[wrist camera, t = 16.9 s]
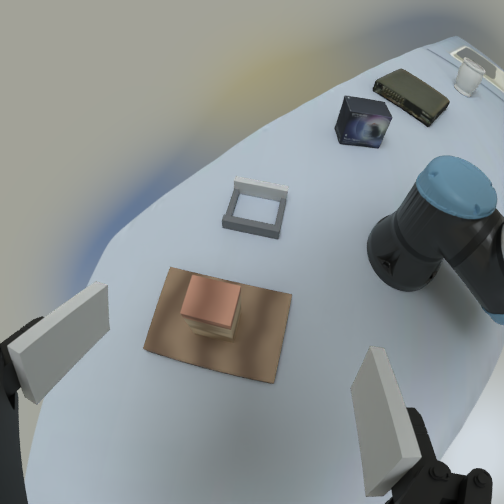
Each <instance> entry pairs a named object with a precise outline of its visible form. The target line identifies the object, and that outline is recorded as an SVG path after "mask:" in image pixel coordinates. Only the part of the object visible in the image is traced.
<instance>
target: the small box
mask: <svg viewBox="0 0 504 504" xmlns="http://www.w3.org/2000/svg"><path fill="white" fill-rule="evenodd" d="M391 120H392V116H391V113H390V112H389V110H388V108H387V106H386V104H385V102H381V101H376V100H370V99H364V98H358V97H351V96H344V100H343V104H342V107H341V110H340V113H339V116H338V120H337V123H336V126H335V130H336V133H337V137H338V141H339V143H340V144H347V145H356V146H364V147H372V148H379V146H380V144H381V142H382V140H383V137H384V135H385V133H386V131H387V128H388V126H389V124H390V122H391Z"/></svg>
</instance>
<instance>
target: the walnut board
mask: <svg viewBox="0 0 504 504" xmlns="http://www.w3.org/2000/svg"><path fill="white" fill-rule="evenodd" d="M192 275H196V276H200V277H204V278H209V279H213V280H217V281H221V282H226V283H230V284H234V285H239V286H241V315H240V319H239V323H238V327H237V331H236V335H235V339H234V343H230V342H226V341H222V340H218V339H214V338H210V337H206V336H202V335H199V334H195V333H194V332H193V331H192V330H191V328H190V327H189V325H188V324H187V322H186V321H185V320H184V318H183V317H182V315H181V314H180V312H181V309H182V305H183V302H184V299H185V296H186V293H187V290H188V287H189V284H190V280H191V277H192ZM291 297H292V294H287V293H282V292H278V291H273V290H268V289H264V288H259V287H255V286H250V285H246V284H241V283H237V282H232V281H228V280H224V279H219V278H215V277H211V276H206V275H202V274H198V273H194V272H189V271H185V270H181V269H177V268H173V267H170V269H169V272H168V274H167V277H166V280H165V283H164V286H163V289H162V292H161V295H160V297H159V300H158V303H157V306H156V309H155V312H154V315H153V319H152V322H151V325H150V328H149V331H148V334H147V337H146V341H145V344H144V347H143V349H145V350H147V351H150V352H153V353H156V354H159V355H162V356H165V357H168V358H172V359H175V360H178V361H182V362H185V363H189V364H192V365H196V366H199V367H203V368H207V369H211V370H215V371H218V372H222V373H227V374H231V375H235V376H239V377H243V378H248V379H252V380H257V381H262V382H267V383H272V384H273V383H274V380H275V375H276V371H277V366H278V361H279V357H280V352H281V347H282V343H283V338H284V333H285V328H286V323H287V318H288V313H289V308H290V302H291Z"/></svg>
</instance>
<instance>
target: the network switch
mask: <svg viewBox="0 0 504 504" xmlns="http://www.w3.org/2000/svg"><path fill="white" fill-rule="evenodd" d="M373 91H374V92H376V93H379V94H381V95H383V96H384V97H385V98H388V99H389V100H390V101H392V102H393V103H395V104H396V105H398V106H399V107H401V108H403V110H405V111H407V112H409V113H410V114H412V115H413V116H415V117H416V118H418V119H419V120H420V121H422V122H423V123H425V124H426V126H427V127H428V126H430V125H431V124H432V123H433V121H434V120H435V119H436V118H437V117H438V116H439V115H440V114H441V113H442V112H443V111H444V110H446V108H447V106H448V105H449V103H450V101H449V100H448V99H447V98H446V97H445V96H444V95H442V94H441V93H440V92H438V91H437V90H435V89H434V88H432V87H431V86H429V85H428V84H426V83H425V82H423V81H422V80H420V79H419V78H417V77H416V76H414V75H412V74H411V73H409V72H407V71H406V70H404V69H399V70H396V71H394V72H392V73H389V74H387V75H385V76H384V77H381V78H379V79H378V80H376V81H375V84H374V87H373ZM386 95H387V96H388V97H387V96H386Z"/></svg>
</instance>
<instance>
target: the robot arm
mask: <svg viewBox="0 0 504 504" xmlns="http://www.w3.org/2000/svg"><path fill="white" fill-rule="evenodd" d="M496 204H497V194H496V191H495V189H494V188H493V187H492V183H491V181H490V180H489V179H488V177H487V176H486V175H485V174H484V173H483V172H482V171H481V170H480V169H478V168H477V167H476V166H475V165H473V164H471V163H470V162H468V161H466V160H464V159H461V158H459V157H453V156H439V157H436V158H434V159H433V160H432V161H431V162H430V163H429V164H428V165H427V167H426V168H425V169H424V171H423V172H421V173H420V174H419V176H418V177H417V180H416V182H415V184H414V186H413V187H412V189H411V190H410V192H409V193H408V195H407V196H406V198H405V199H404V201H403V202H402V204H401V205H400V207H399V208H398V210H397V211H395V212H394V213H392V214H391V215H389V216H386V217H384V218H383V219H381V220H380V221H379V222H378V223H377V224H376V225H375V227H374V228H373V230H372V231H371V233H370V235H369V238H368V242H367V252H368V257H369V260H370V263H371V265H372V267H373V269H374V270H375V272H376V273H377V274H378V276H379V277H380V278H381V279H382V280H383V281H384V282H386V283H387V284H388V285H390V286H392V287H394V288H396V289H398V290H402V291H415V290H419V289H421V288H423V287H424V286H425V285H427V284H428V283H429V282H430V281H431V280H432V279H433V278H434V277H435V275H436V273H437V271H438V269H439V267H440V265H441V262H442V260H443V258H445V260H446V261H447V262H448V263H449V264H450V265H451V267H452V268H453V269H454V270H455V272H456V273H457V274H458V275H459V277H460V278H461V279H462V281H463V282H464V283H465V285H466V286H467V287H468V288H469V290H470V291H471V293H472V294H473V295H474V297H475V298H476V299H477V301H478V302H479V304H480V305H481V307H482V309H483V310H484V311H485V312H486V313H487V314H489V316H490V317H491V318H492V319H493V320H494V321H495V322H496V323H498V324H500V325H504V217H503V216H502V215H501V214H500V212H499V211H498V210H497V209H496ZM109 330H110V327H109V309H108V285H106V284H103V283H100V282H97V281H96V282H94V283H93V284H91V285H90V286H88V287H87V288H85V289H84V290H83V291H81V292H80V293H78V294H77V295H75V296H74V297H73V298H71V299H70V300H68V301H67V302H65V303H64V304H63V305H61V306H60V307H58V308H57V309H56V310H54V311H53V312H51V313H50V314H49V315H47V316H46V317H39V318H36V319H33V320H32V321H31V322H29V323H28V324H26V325H25V326H23V327H22V328H21V329H20V330H19V331H17V332H15V333H14V334H13V335H11V336H10V337H9V338H8V339H6V340H5V341H3V342H2V343H1V344H0V504H28V501H27V496H26V490H25V484H24V477H23V470H22V461H21V452H20V439H19V419H18V418H19V416H18V393H17V390H18V389H19V388H20V387H21V388H22V391H23V394H24V396H25V397H26V398H27V399H29V400H30V401H32V402H33V403H35V404H38V403H39V402H40V401H41V400H42V399H43V398H44V397H45V396H46V395H47V394H48V392H49V391H50V390H51V389H52V388H53V387H54V386H55V385H56V384H57V383H58V382H59V381H60V380H61V379H62V378H63V377H64V376H65V375H66V374H67V373H68V372H69V370H70V369H71V368H72V367H73V366H74V365H75V364H76V363H77V362H78V361H79V360H80V359H81V358H82V357H83V356H84V355H85V354H86V353H87V352H88V351H89V350H90V349H91V348H92V347H93V346H94V345H95V344H96V343H97V342H98V341H99V340H100V339H101V338H102V337H103V336H104V335H105V334H106V333H107V332H108V331H109ZM351 394H352V400H353V405H354V412H355V418H356V424H357V431H358V437H359V444H360V452H361V459H362V467H363V476H364V484H365V494H366V497H374V496H384V495H385V494H386V493H387V492H388V491H390V490H392V496H393V497H391V498H390V499H389V500H388V501H387V502H386V503H385V504H491V499H492V478H491V476H490V474H489V473H488V472H487V471H485V470H484V469H480V468H476V469H473V470H472V471H471V472H470V473H469V474H468V475H467V476H466V475H460V474H455V473H451V470H450V469H449V467H448V466H447V465H446V464H444V463H443V462H441V461H438V460H437V459H436V456H435V453H434V450H433V447H432V444H431V441H430V438H429V435H428V434H427V433H428V432H427V430H426V427H425V424H424V421H423V419H422V416H421V415H420V414H419V412H418V411H417V410H416V409H415V408H407V407H406V406H405V403H404V400H403V397H402V394H401V392H400V389H399V386H398V383H397V381H396V378H395V375H394V372H393V370H392V367H391V365H390V362H389V359H388V357H387V354H386V352H385V349H384V348H380V347H373V346H370V347H369V350H368V352H367V354H366V356H365V359H364V361H363V363H362V365H361V367H360V370H359V372H358V374H357V376H356V378H355V380H354V382H353V384H352V386H351Z"/></svg>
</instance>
